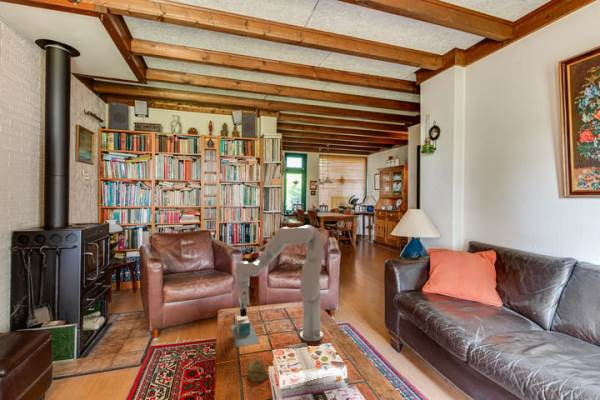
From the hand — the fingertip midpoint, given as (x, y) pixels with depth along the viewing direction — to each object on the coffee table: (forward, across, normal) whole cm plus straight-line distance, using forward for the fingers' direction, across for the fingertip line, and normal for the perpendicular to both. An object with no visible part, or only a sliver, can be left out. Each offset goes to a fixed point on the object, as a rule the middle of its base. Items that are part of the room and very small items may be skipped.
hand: (243, 315), depth 163 cm
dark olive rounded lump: (+9, -44, +1) cm, 45 cm away
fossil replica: (+9, -39, -18) cm, 44 cm away
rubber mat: (+8, -5, 0) cm, 10 cm away
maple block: (+5, -6, 0) cm, 8 cm away
